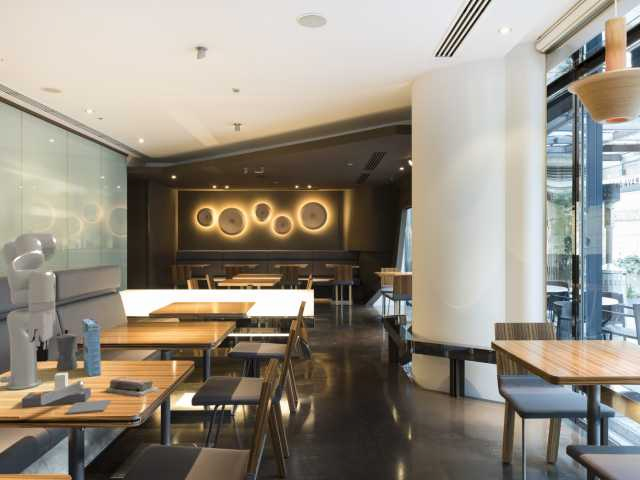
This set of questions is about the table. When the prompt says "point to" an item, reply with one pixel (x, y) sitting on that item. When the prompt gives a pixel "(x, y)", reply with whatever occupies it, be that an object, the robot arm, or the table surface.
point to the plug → (61, 380)
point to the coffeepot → (66, 351)
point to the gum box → (91, 347)
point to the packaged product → (131, 386)
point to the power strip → (76, 397)
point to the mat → (88, 407)
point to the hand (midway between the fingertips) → (42, 360)
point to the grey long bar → (61, 392)
